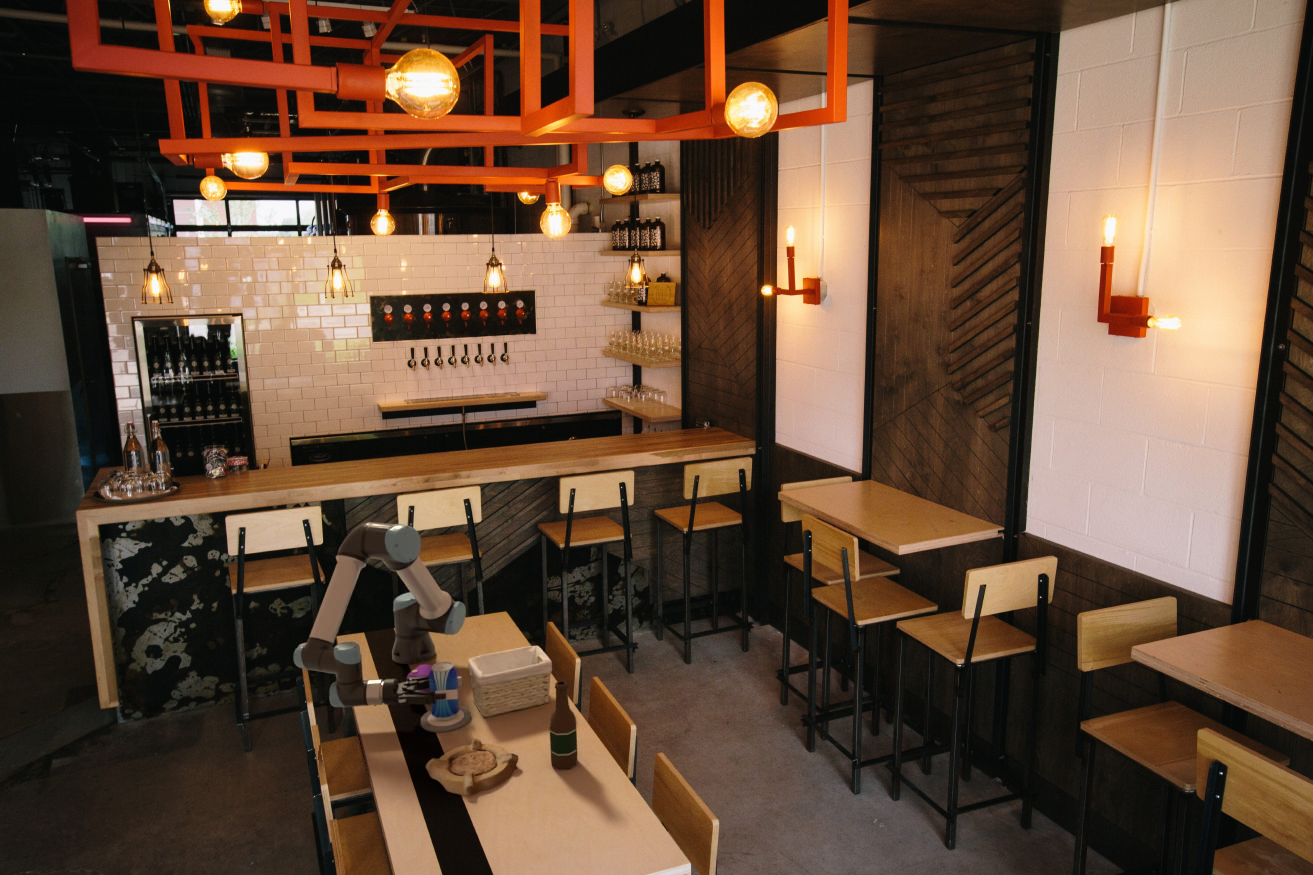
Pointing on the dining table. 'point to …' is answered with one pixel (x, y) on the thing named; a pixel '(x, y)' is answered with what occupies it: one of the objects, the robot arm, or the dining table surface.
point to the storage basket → (510, 680)
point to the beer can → (444, 679)
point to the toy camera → (421, 673)
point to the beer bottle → (563, 731)
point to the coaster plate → (445, 721)
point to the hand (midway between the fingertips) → (459, 687)
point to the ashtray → (473, 768)
